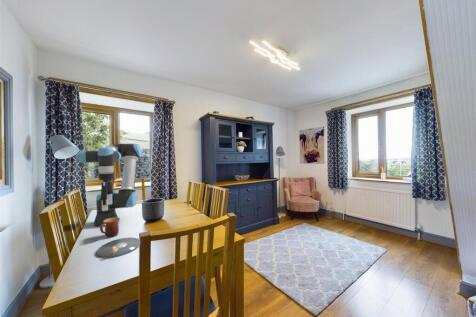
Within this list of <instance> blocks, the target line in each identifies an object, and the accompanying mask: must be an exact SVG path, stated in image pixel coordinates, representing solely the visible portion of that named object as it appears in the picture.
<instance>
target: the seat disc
mask: <svg viewBox="0 0 476 317" xmlns="http://www.w3.org/2000/svg"><path fill="white" fill-rule="evenodd" d="M139 240H140V239H139V238H138V237H137V238H136V237H122V238H117V239H115V240H110V241H108V242H106V243H104V244H102V245H101V246H100V247H99V248H98V249H97V251H96V254H97V256H98V257H100V258H103V259H104V258H105V259H110V258H111V259H112V258H118V257H122V256H125V255H127V254H129V253H132V252H133V251H136V250H137V249H138V248H139V247H140V246H139Z"/></svg>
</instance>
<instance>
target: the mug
mask: <svg viewBox="0 0 476 317" xmlns="http://www.w3.org/2000/svg"><path fill="white" fill-rule="evenodd" d="M120 219H121V218H120V217H119V216H118V217H114V218H109V219H106V220H104V221H103V222H104V224H102V225H101V226H99V231H100V233H101V234H104V235H105V238H114V237H117V236H118V235H119V233H120V229H119V228H120V227H119V223H120ZM104 225H105V226H104Z"/></svg>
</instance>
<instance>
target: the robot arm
mask: <svg viewBox="0 0 476 317" xmlns="http://www.w3.org/2000/svg"><path fill="white" fill-rule="evenodd" d="M141 157H142V150H141V146H140V144H138V143H114V144H110V145H106V146H105V147H99V148H96V149H93V150H91V149H90V150H80V151H79V152H77V160H78V162H79V163H83V164H84V163H86V164H87V163H98V167H97V170H98V173H99V174H98V180H99V181H102V182H101V190H100V193H98V194H97V195H96V199H95V200H96V201H95V202H96V216H95V218H94V220H93V226H94V227H95V226H96V227H100V226H101V225H102V224H104V222H103V221H104V220H106V219H109V218H114V217H118V218H119V216H118V215H117V212H116V209H126V208H127V209H128V208H134V207H135V206H136V204H137V202H138V198H139V197H138V194H139V193H138V192H137V191H136V189H135V188H134V186H135V177H136V169H137V168H136V166H137V161H139V158H141ZM121 159H123V160H124V163H123V169H122V170H123V172H122V178H121V185H120V186H121V188H120V189H118V192H116V191H114V190H113V184H112V180H114V179H115V174H114V172H115V167H114V163H116V162H119V161H120V160H121ZM103 227H105V225H104V226H103Z"/></svg>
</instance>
